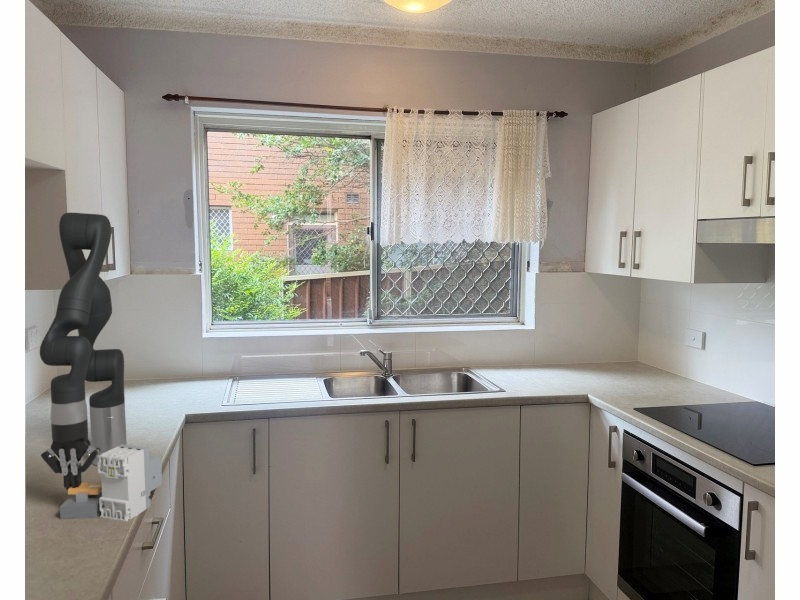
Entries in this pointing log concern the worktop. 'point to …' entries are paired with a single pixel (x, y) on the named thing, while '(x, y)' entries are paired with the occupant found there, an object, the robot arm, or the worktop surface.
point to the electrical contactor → (127, 481)
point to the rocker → (86, 488)
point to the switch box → (81, 506)
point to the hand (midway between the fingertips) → (72, 488)
